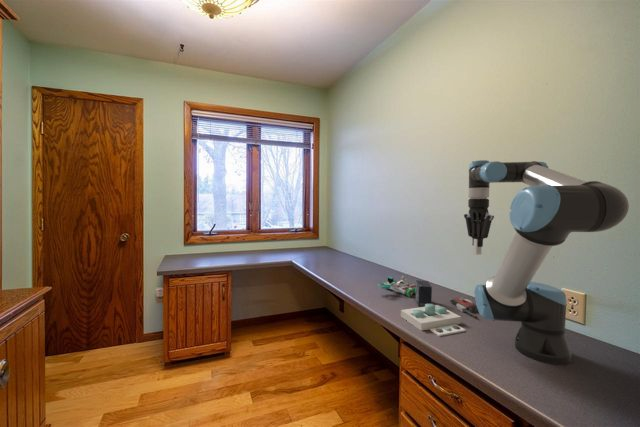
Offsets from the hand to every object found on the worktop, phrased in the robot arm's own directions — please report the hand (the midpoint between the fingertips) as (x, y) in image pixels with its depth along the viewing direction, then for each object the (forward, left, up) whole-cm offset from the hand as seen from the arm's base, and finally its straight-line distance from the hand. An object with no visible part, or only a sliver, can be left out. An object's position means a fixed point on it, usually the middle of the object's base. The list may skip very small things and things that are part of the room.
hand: (477, 254), depth 117 cm
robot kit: (+44, +11, -30) cm, 54 cm away
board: (+8, +17, -29) cm, 35 cm away
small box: (+25, +7, -30) cm, 39 cm away
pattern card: (-2, +17, -29) cm, 34 cm away
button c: (+8, +23, -29) cm, 38 cm away
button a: (+8, +11, -29) cm, 32 cm away
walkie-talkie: (+12, -8, -30) cm, 33 cm away
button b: (+8, +17, -27) cm, 33 cm away
